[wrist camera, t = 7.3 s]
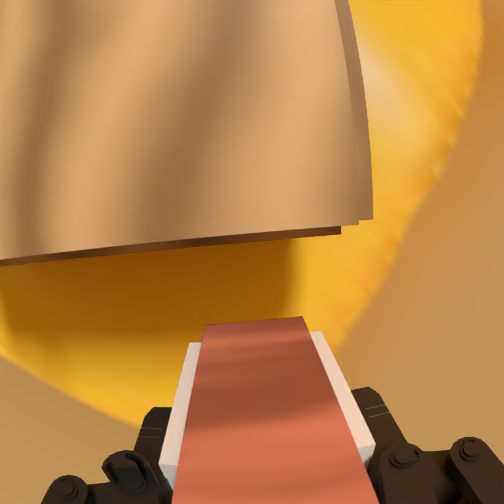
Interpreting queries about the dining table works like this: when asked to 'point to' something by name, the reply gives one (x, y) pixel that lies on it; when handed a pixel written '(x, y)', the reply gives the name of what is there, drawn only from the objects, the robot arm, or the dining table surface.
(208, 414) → the reddish-brown wooden bar
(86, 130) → the lid
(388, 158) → the dining table surface
